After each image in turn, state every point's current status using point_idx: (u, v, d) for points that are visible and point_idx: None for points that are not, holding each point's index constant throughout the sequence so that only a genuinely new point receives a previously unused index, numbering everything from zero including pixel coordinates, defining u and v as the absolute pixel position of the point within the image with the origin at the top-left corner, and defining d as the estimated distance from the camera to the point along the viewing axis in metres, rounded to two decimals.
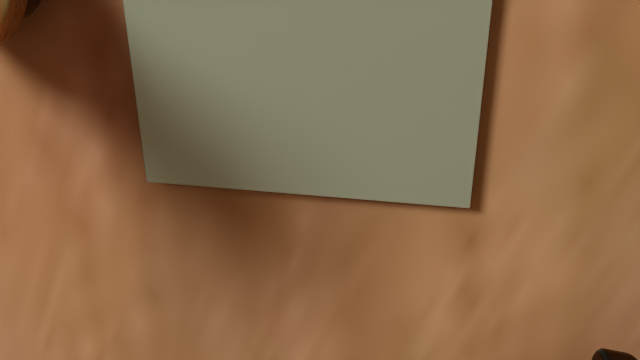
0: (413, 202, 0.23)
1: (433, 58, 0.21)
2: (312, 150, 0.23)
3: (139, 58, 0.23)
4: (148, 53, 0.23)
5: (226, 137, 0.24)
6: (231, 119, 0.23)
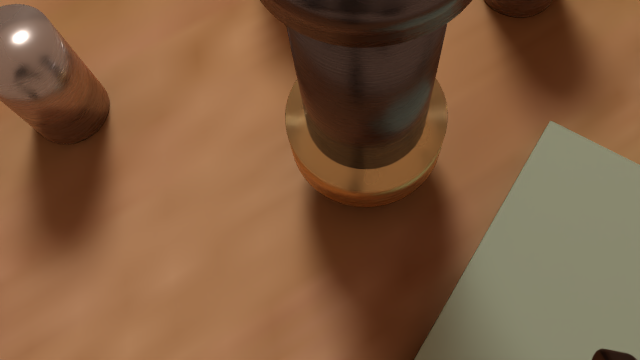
0: None
1: None
2: None
3: (460, 301, 0.21)
4: (473, 301, 0.21)
5: None
6: None
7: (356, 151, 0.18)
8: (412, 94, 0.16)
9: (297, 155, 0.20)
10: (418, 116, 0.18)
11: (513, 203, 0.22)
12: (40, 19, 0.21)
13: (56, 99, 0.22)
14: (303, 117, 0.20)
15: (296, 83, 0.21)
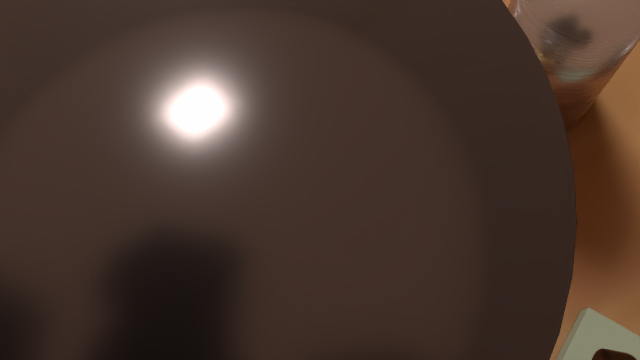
0: None
1: None
2: None
3: None
4: None
5: None
6: None
7: None
8: None
9: None
10: None
11: None
12: None
13: None
14: None
15: None
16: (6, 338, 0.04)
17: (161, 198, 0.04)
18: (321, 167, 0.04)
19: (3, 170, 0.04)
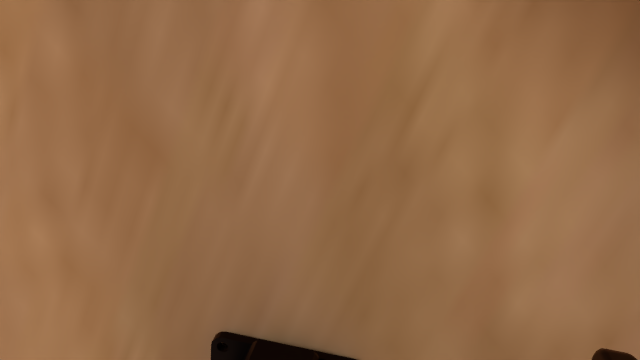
0: None
1: None
2: None
3: None
4: None
5: None
6: None
7: None
8: None
9: None
10: None
11: None
12: None
13: None
14: None
15: None
16: None
17: None
18: None
19: None
